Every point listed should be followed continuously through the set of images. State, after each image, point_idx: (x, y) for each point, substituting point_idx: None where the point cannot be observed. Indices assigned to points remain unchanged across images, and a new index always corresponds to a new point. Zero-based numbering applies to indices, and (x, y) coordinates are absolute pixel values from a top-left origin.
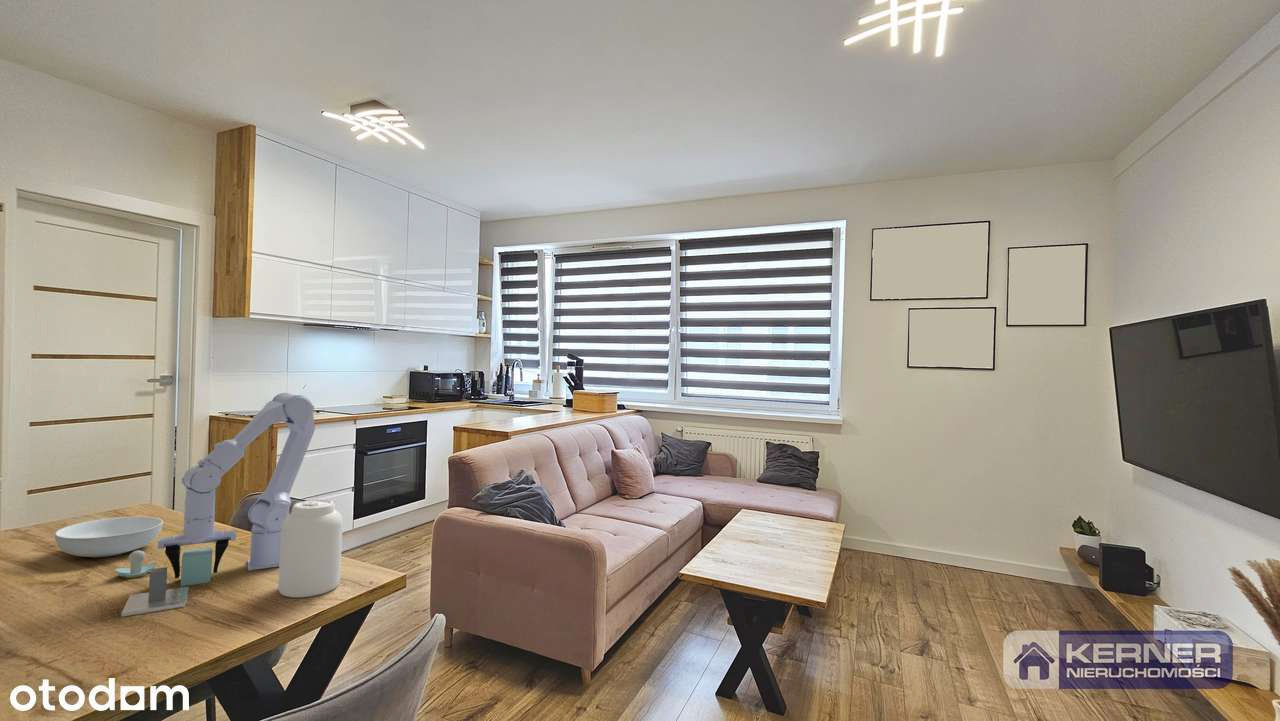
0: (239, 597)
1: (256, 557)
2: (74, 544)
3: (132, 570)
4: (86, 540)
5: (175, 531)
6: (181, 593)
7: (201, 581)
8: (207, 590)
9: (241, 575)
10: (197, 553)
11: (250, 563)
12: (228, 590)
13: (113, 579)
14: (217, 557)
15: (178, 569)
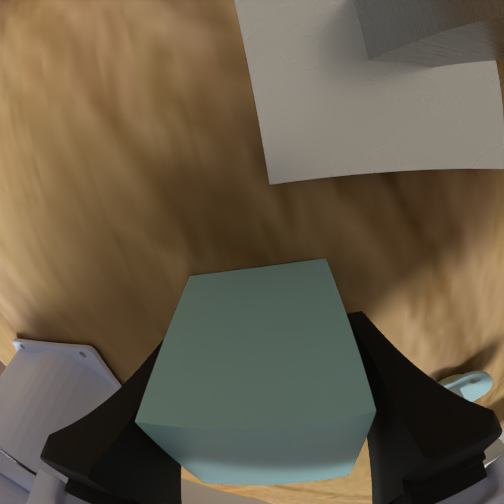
0: (22, 39)
1: (66, 388)
2: (499, 445)
3: (459, 393)
4: (493, 456)
5: (344, 495)
6: (281, 57)
7: (226, 276)
8: (158, 141)
9: (93, 312)
10: (259, 455)
11: (106, 386)
12: (63, 122)
13: (482, 365)
14: (128, 398)
15: (365, 345)
